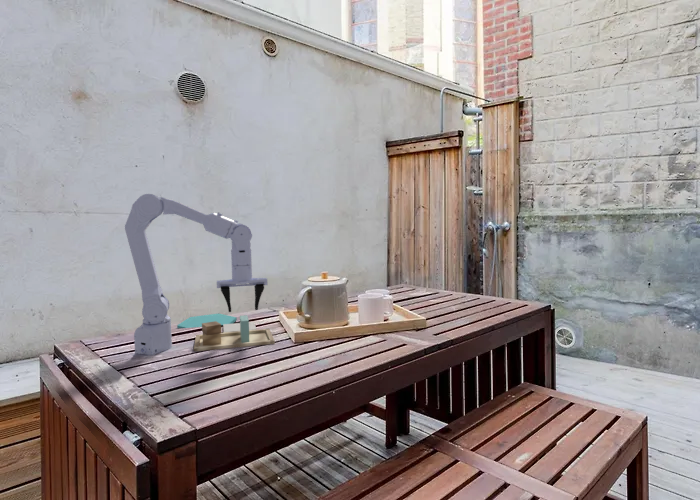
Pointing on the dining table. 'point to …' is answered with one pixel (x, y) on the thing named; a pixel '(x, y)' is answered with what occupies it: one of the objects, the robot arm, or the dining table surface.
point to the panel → (244, 328)
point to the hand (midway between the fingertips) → (243, 310)
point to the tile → (237, 327)
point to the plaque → (206, 320)
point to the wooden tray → (236, 340)
